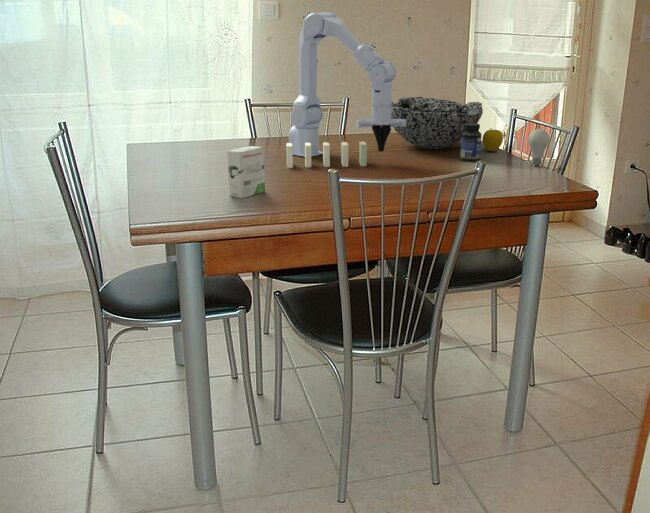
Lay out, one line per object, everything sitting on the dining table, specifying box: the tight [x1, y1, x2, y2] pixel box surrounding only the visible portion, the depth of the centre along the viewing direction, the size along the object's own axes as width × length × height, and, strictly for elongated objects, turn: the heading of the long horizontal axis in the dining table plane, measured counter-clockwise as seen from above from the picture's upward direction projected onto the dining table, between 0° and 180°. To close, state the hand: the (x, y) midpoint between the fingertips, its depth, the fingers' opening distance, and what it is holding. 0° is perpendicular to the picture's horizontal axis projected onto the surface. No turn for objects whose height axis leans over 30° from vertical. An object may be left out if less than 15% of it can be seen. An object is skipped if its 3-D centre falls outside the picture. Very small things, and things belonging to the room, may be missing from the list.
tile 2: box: [304, 143, 312, 169], centre depth 217 cm, size 2×5×6 cm, turn 5°
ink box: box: [227, 145, 266, 199], centre depth 184 cm, size 9×5×12 cm, turn 140°
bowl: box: [391, 96, 484, 150], centre depth 241 cm, size 31×31×15 cm
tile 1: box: [285, 142, 294, 169], centre depth 216 cm, size 2×5×6 cm, turn 4°
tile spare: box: [358, 141, 368, 167], centre depth 218 cm, size 2×5×6 cm, turn 5°
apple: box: [481, 127, 504, 152], centre depth 235 cm, size 6×6×8 cm
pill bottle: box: [459, 123, 482, 163], centre depth 223 cm, size 6×6×11 cm
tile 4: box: [340, 141, 349, 168], centre depth 218 cm, size 2×5×6 cm, turn 5°
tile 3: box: [322, 141, 331, 168], centre depth 217 cm, size 2×5×6 cm, turn 5°
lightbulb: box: [527, 128, 551, 167], centre depth 213 cm, size 6×6×11 cm
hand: (380, 150), depth 218 cm, fingers closed
